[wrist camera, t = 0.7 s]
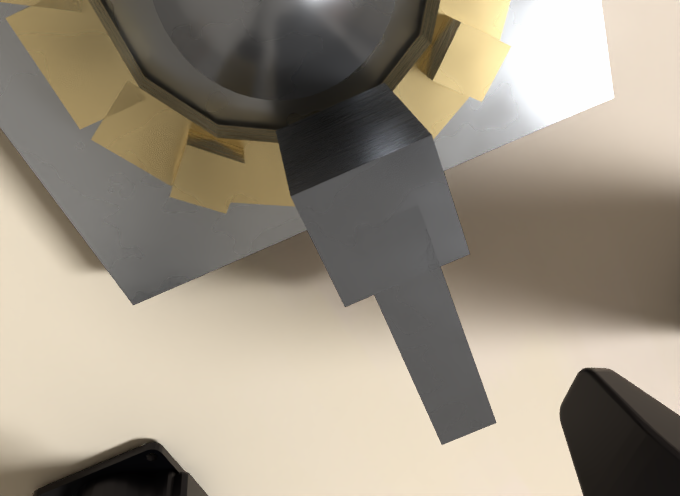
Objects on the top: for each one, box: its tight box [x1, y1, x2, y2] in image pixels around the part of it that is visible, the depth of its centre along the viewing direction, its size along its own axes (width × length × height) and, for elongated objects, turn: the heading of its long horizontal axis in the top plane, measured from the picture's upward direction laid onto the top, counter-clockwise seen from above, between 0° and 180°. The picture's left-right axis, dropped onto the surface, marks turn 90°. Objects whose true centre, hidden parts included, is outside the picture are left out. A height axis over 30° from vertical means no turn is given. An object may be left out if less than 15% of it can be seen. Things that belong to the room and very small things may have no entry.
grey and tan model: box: [0, 0, 511, 445], centre depth 15 cm, size 13×20×6 cm, turn 21°
